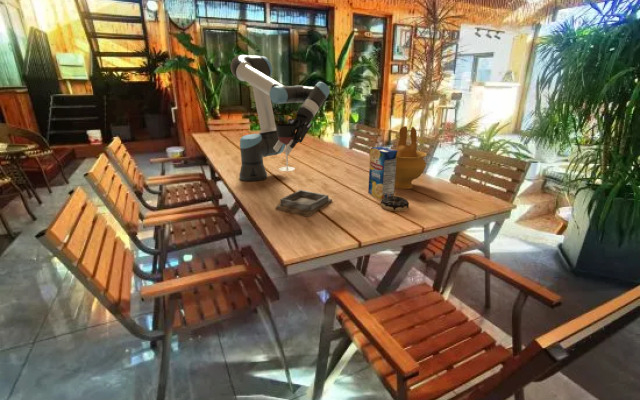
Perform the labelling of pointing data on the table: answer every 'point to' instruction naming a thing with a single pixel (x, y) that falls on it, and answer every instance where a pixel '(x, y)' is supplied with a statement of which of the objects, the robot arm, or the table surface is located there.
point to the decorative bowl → (408, 160)
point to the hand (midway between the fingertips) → (280, 151)
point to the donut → (394, 203)
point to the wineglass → (286, 139)
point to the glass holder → (303, 202)
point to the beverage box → (382, 172)
